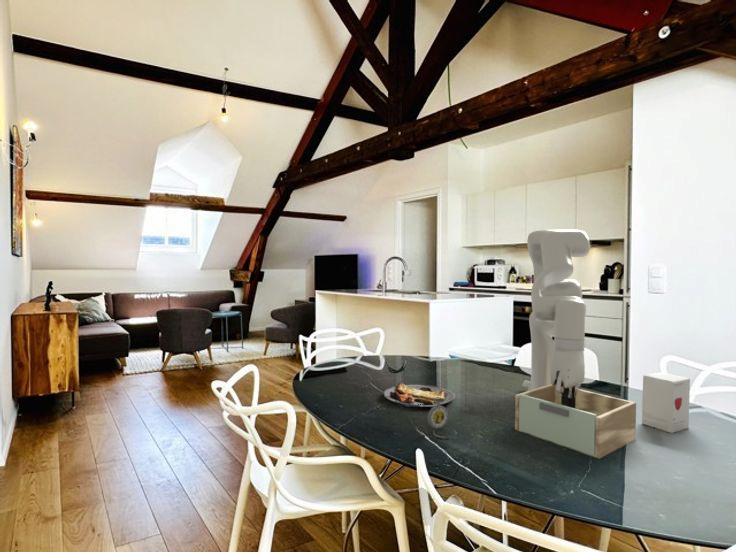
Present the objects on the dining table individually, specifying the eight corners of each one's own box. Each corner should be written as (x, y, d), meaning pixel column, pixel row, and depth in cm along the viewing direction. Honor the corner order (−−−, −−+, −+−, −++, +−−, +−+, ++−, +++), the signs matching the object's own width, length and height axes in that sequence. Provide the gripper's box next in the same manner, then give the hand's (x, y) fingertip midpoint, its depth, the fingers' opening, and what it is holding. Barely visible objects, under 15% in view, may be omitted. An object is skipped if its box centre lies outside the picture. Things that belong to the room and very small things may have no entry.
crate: (514, 432, 131) (515, 394, 131) (553, 418, 143) (553, 383, 143) (599, 462, 112) (600, 418, 112) (635, 442, 124) (636, 402, 124)
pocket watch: (451, 442, 125) (451, 406, 124) (423, 435, 129) (423, 400, 129) (462, 432, 132) (462, 398, 131) (435, 426, 136) (435, 393, 136)
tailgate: (517, 430, 130) (518, 395, 129) (521, 429, 131) (521, 394, 130) (592, 456, 113) (593, 415, 112) (596, 454, 114) (596, 414, 113)
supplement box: (672, 434, 130) (673, 381, 130) (640, 423, 138) (641, 374, 137) (689, 428, 134) (691, 378, 134) (658, 418, 142) (659, 371, 142)
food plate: (372, 402, 158) (372, 392, 158) (399, 386, 179) (399, 377, 179) (441, 416, 147) (441, 405, 147) (461, 397, 168) (462, 387, 167)
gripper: (570, 339, 132) (569, 402, 133) (541, 345, 123) (540, 412, 124) (596, 343, 126) (595, 408, 127) (567, 349, 117) (566, 420, 118)
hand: (568, 410), depth 125 cm, fingers closed
